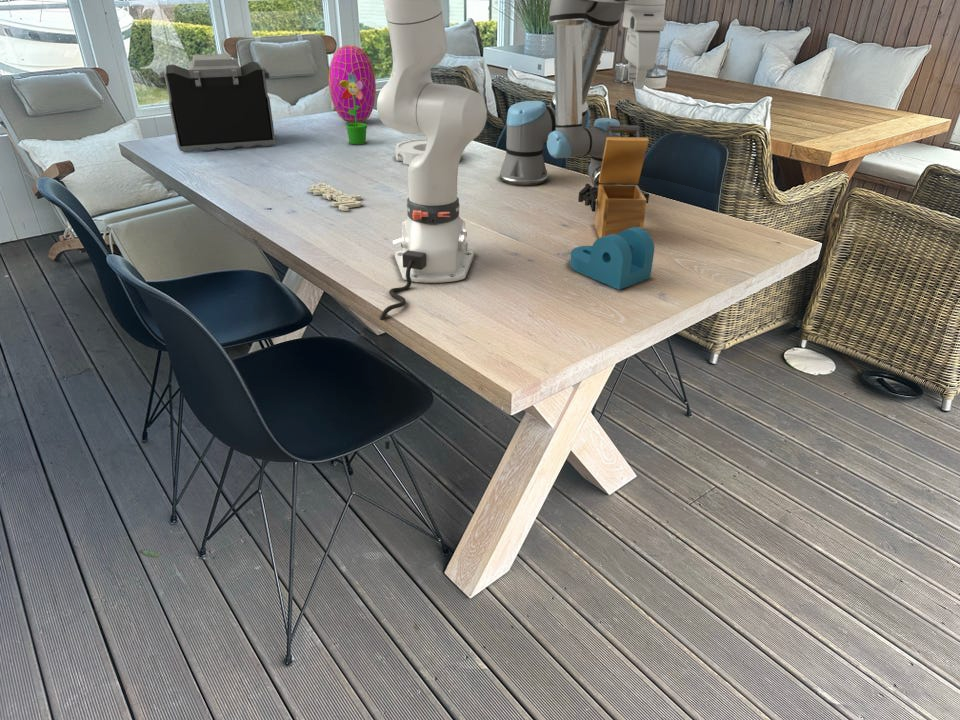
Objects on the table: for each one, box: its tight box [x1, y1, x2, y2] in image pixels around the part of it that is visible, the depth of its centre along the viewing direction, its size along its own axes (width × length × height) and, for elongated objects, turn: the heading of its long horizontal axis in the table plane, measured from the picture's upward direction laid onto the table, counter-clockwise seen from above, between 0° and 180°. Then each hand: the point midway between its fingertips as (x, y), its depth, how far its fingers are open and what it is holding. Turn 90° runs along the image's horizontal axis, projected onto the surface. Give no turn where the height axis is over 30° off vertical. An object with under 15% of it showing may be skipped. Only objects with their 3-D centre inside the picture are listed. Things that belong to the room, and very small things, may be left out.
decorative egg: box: [328, 44, 377, 124], centre depth 286 cm, size 19×19×30 cm
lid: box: [599, 124, 650, 185], centre depth 175 cm, size 14×10×9 cm
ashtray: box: [394, 138, 462, 166], centre depth 243 cm, size 23×23×4 cm
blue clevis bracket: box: [569, 227, 655, 291], centre depth 155 cm, size 18×10×10 cm, turn 39°
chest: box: [594, 184, 647, 239], centre depth 176 cm, size 13×10×11 cm
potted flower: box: [339, 73, 368, 145], centre depth 255 cm, size 9×8×25 cm
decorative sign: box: [308, 182, 362, 212], centre depth 203 cm, size 26×1×10 cm
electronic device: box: [159, 53, 276, 153], centre depth 251 cm, size 37×22×30 cm, turn 111°
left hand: (635, 85), depth 159 cm, fingers open, 8 cm apart
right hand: (617, 206), depth 178 cm, fingers open, 12 cm apart
